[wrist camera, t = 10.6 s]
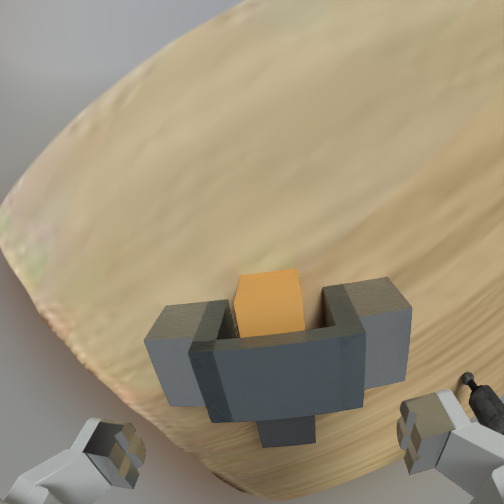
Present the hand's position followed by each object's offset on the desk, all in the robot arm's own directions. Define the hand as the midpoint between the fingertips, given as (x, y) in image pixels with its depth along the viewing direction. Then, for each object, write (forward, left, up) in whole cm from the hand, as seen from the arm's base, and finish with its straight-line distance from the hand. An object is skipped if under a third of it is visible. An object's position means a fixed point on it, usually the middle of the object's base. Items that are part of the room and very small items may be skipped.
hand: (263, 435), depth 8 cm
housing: (0, +5, -15) cm, 16 cm away
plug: (0, +8, -15) cm, 17 cm away
